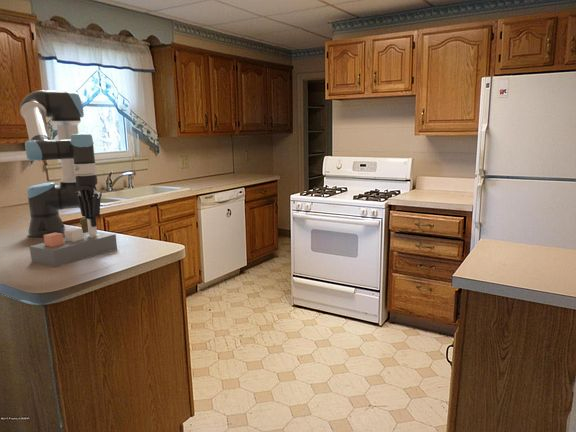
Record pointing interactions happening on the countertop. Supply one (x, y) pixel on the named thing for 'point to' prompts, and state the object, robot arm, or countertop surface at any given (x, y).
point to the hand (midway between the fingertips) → (93, 234)
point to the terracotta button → (53, 239)
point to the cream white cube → (73, 234)
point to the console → (73, 250)
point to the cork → (84, 224)
